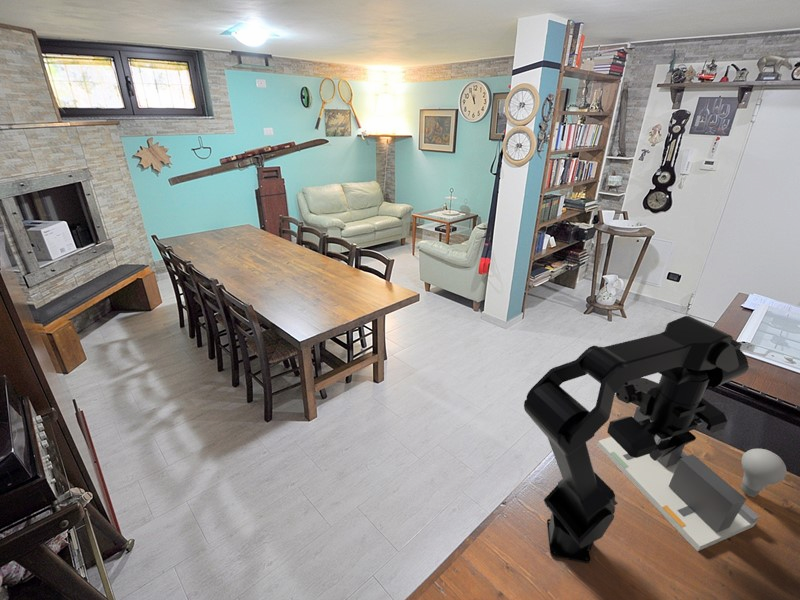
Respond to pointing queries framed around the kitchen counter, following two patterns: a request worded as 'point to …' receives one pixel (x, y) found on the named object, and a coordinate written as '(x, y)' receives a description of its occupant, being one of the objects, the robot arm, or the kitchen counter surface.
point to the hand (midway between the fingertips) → (653, 458)
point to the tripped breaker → (706, 493)
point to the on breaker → (667, 459)
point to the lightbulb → (761, 470)
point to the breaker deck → (672, 497)
